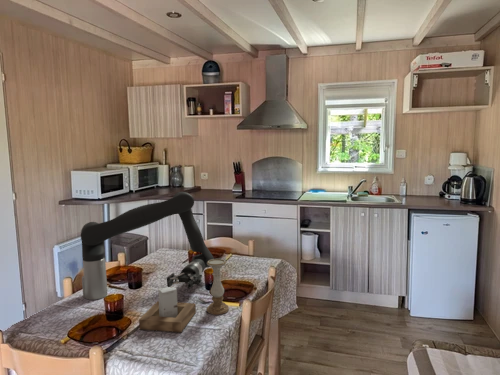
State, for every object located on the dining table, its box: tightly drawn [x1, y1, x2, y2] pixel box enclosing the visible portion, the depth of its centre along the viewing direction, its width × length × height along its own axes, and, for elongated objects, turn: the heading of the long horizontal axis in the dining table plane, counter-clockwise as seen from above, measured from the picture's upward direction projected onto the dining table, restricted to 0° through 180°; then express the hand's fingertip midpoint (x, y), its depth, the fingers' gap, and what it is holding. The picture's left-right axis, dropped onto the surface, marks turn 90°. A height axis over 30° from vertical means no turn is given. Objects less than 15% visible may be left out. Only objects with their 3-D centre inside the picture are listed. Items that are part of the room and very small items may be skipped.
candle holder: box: [206, 258, 230, 316], centre depth 148 cm, size 9×9×20 cm
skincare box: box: [158, 285, 178, 318], centre depth 140 cm, size 6×4×12 cm
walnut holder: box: [138, 300, 197, 334], centre depth 140 cm, size 16×16×4 cm
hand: (178, 285), depth 150 cm, fingers open, 8 cm apart
